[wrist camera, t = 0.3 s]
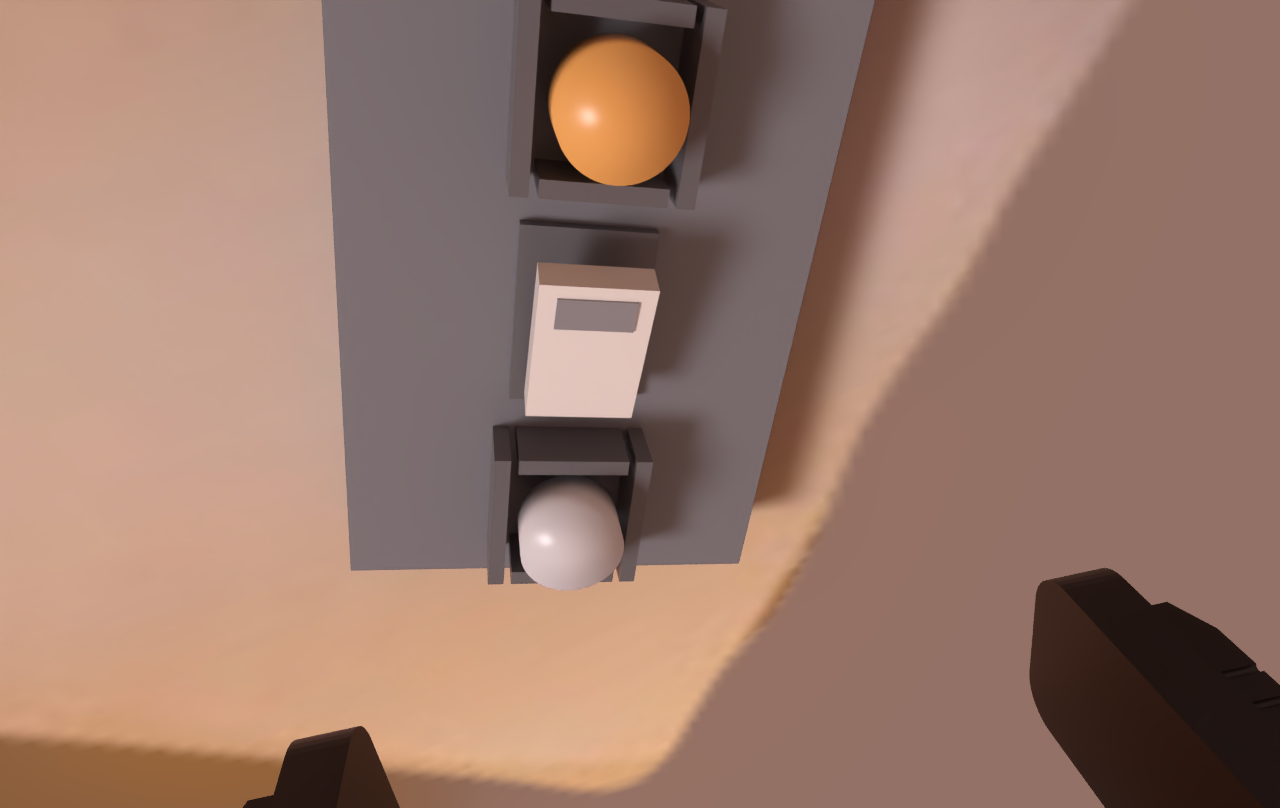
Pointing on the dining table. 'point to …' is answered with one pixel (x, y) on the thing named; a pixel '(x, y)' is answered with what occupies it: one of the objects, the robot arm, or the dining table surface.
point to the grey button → (569, 533)
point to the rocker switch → (588, 339)
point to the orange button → (618, 109)
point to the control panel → (567, 234)
